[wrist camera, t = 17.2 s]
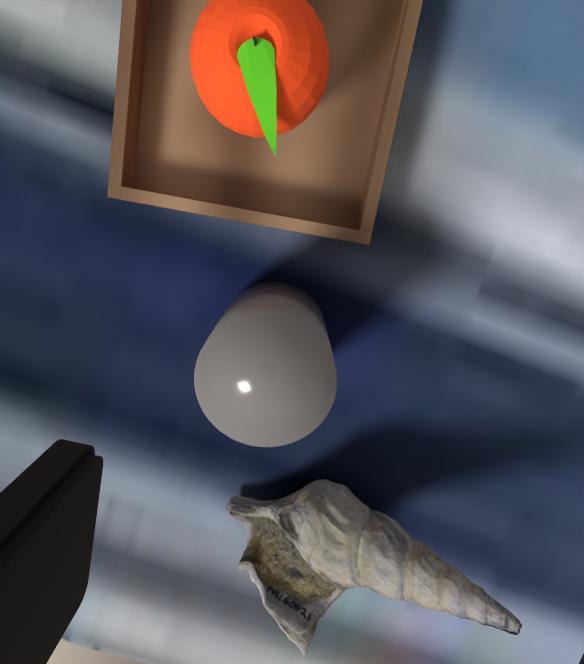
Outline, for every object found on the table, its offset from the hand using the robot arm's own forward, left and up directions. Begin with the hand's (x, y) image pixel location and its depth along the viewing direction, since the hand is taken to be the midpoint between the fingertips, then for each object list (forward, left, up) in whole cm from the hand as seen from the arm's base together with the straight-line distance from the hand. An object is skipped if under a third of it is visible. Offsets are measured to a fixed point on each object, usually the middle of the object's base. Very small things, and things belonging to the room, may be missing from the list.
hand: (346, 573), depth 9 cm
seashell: (-5, +16, -25) cm, 30 cm away
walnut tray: (+5, -12, -24) cm, 27 cm away
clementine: (+5, -12, -24) cm, 27 cm away
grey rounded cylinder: (+2, +3, -24) cm, 25 cm away
